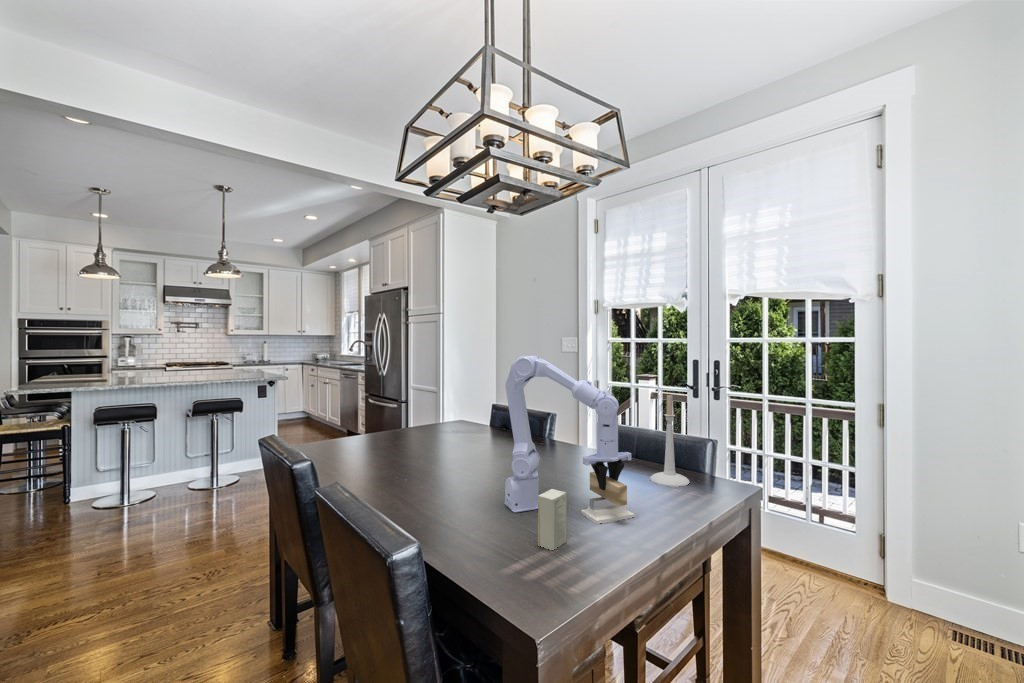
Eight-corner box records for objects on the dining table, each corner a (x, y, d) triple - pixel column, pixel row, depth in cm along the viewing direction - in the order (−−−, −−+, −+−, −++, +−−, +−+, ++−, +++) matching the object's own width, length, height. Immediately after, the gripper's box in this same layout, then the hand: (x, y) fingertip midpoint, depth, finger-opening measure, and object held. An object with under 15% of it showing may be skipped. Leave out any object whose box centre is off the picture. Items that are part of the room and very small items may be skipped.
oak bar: (618, 506, 118) (617, 487, 118) (589, 489, 131) (589, 472, 131) (627, 504, 119) (626, 485, 119) (598, 488, 132) (598, 471, 132)
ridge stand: (596, 524, 119) (596, 505, 119) (581, 513, 126) (581, 495, 126) (634, 517, 123) (634, 499, 123) (617, 507, 131) (617, 490, 131)
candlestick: (695, 487, 148) (695, 396, 148) (656, 487, 149) (656, 396, 149) (681, 475, 161) (681, 392, 161) (645, 475, 161) (645, 391, 161)
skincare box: (552, 537, 111) (552, 488, 111) (567, 542, 108) (567, 492, 108) (537, 546, 106) (536, 494, 106) (552, 552, 103) (552, 499, 103)
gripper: (592, 444, 118) (592, 496, 118) (638, 440, 123) (638, 489, 124) (578, 439, 125) (578, 488, 125) (622, 434, 130) (622, 481, 130)
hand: (607, 488), depth 125 cm, fingers closed on oak bar, 3 cm apart
